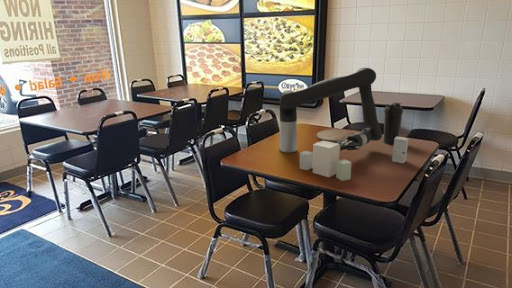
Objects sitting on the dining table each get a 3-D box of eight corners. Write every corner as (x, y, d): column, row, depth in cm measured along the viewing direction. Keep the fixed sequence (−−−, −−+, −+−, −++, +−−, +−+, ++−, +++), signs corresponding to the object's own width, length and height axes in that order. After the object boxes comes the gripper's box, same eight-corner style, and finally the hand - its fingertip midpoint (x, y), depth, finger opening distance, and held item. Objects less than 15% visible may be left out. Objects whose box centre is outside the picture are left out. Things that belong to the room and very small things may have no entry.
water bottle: (404, 143, 212) (407, 104, 206) (390, 145, 209) (393, 105, 202) (391, 138, 221) (395, 101, 215) (378, 141, 218) (380, 102, 211)
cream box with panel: (328, 177, 167) (329, 148, 163) (312, 172, 173) (313, 144, 169) (338, 172, 172) (339, 143, 168) (322, 168, 178) (323, 140, 174)
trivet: (365, 137, 228) (365, 134, 228) (342, 146, 212) (343, 142, 211) (331, 130, 246) (331, 127, 245) (308, 138, 229) (308, 135, 229)
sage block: (336, 177, 167) (336, 160, 164) (344, 175, 168) (345, 159, 166) (341, 180, 163) (342, 164, 160) (350, 179, 164) (351, 162, 162)
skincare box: (391, 161, 184) (393, 138, 180) (393, 159, 188) (395, 136, 184) (404, 163, 181) (406, 140, 177) (406, 161, 184) (408, 137, 181)
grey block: (299, 168, 179) (299, 153, 176) (305, 166, 182) (305, 150, 179) (307, 170, 176) (307, 154, 173) (312, 168, 179) (312, 152, 176)
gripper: (345, 131, 192) (326, 139, 180) (368, 136, 183) (350, 144, 172) (344, 145, 194) (326, 153, 183) (367, 150, 186) (350, 159, 174)
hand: (338, 148), depth 177 cm, fingers closed
